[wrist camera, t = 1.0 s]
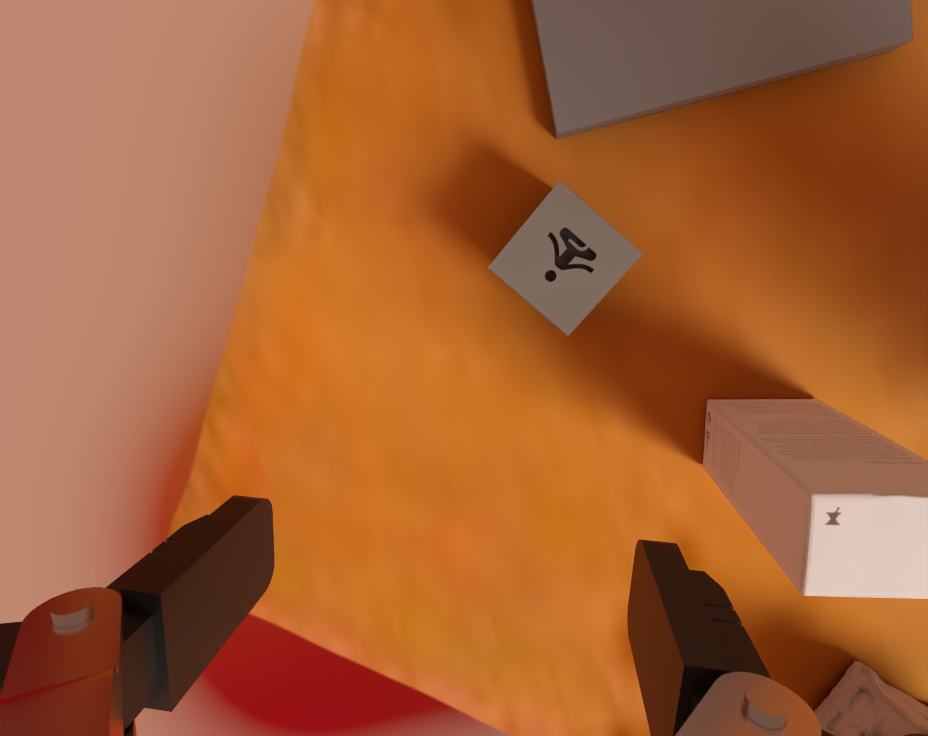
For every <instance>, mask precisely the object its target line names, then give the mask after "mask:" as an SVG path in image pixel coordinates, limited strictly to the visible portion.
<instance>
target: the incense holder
mask: <svg viewBox="0 0 928 736" xmlns="http://www.w3.org/2000/svg"><path fill="white" fill-rule="evenodd" d="M814 713H815V715H816V716H817V718H818V720H819V723H820V726H821V729H822V730H824V731H826V732H828V733H830V734H832V735H835V736H903V735H907V734H918V733H919V734H927V735H928V707H927V706H925V705H923V704H922V703H920V702H919V701H917V700H915V699H914V698H912V697H911V696H910V695H907V694H906V693H904V692H902V691H901V690H899V689H897V688H894V687H892V686H890V685H887V684H885V683H884V682H883V681H882V680H881V679H880V677H879V676H878V674H877V673H876V672H875V671H874V670H872V669H871V668H870V667H869V666H867V665H865V664H863V663H861V662H858V661H854V662H853V664H852V665H851V666H850V667H849V668H848V669H847V670H846V673H845V675H844V676H843V677H842V679H841V680H840V681H839V682H838V684H837V685H836V686H835V687H834V688H833V689H832V691H831V692H830V694H829V696H827V697H826V698H825V700H824V701H823V702H822V703H821V705H820V706H819V707H818V708H817V709H816V710H815V712H814Z"/></svg>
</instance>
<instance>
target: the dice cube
mask: <svg viewBox="0 0 928 736" xmlns="http://www.w3.org/2000/svg"><path fill="white" fill-rule="evenodd" d="M642 255H643V253H642V252H641V251H640V250H639V249H638V248H636V247H635V246H634V245H633V244H632V243H631V242H630V241H628V240H627V239H626V238H625V237H624V236H623V235H622V234H620V233H619V232H618V231H617V230H616V229H615V228H614V227H612V226H611V225H610V224H609V223H608V222H607V221H606V220H604V219H603V218H602V217H601V216H600V215H599V214H598V213H596V212H595V211H594V210H593V209H592V208H591V207H590V206H588V205H587V204H586V203H585V202H584V201H583V200H582V199H580V198H579V197H578V196H577V195H576V194H575V193H574V192H572V191H571V190H570V189H569V188H568V187H567V186H566V185H564V184H563V183H562V182H561V181H559V182H558V183H557V184H556V186H555V187H554V188H553V189H552V190H551V192H550V193H549V194H548V195H547V196H546V198H545V199H544V200H543V201H542V202H541V204H540V205H539V206H538V207H537V208H536V210H535V211H534V212H533V213H532V215H531V216H530V217H529V218H528V219H527V221H526V222H525V223H524V224H523V225H522V227H521V228H520V229H519V230H518V231H517V233H516V234H515V235H514V236H513V237H512V239H511V240H510V241H509V242H508V243H507V245H506V246H505V247H504V248H503V250H502V251H501V252H500V253H499V254H498V256H497V257H496V258H495V259H494V260H493V262H492V263H491V264H490V265H489V266H488V268H489V269H490V270H491V271H492V272H493V273H495V274H496V275H497V276H498V277H499V278H500V279H502V280H503V281H504V282H505V283H506V284H507V285H509V286H510V287H511V288H512V289H513V290H514V291H516V292H517V293H518V294H519V295H520V296H521V297H523V298H524V299H525V300H526V301H527V302H528V303H530V304H531V305H532V306H533V307H534V308H535V309H537V310H538V311H539V312H540V313H541V314H542V315H544V316H545V317H546V318H547V319H548V320H549V321H551V322H552V323H553V324H554V325H555V326H556V327H558V328H559V329H560V330H561V331H562V332H563V333H565V334H566V335H567V336H569V335H570V334H571V333H572V332H573V330H574V329H575V328H576V327H577V326H578V325H579V324H580V323H581V322H582V321H583V319H584V318H585V317H586V316H587V315H588V314H589V313H590V312H591V311H592V310H593V308H594V307H595V306H596V305H597V304H598V303H599V302H600V301H601V300H602V299H603V297H604V296H605V295H606V294H607V293H608V292H609V291H610V290H611V289H612V288H613V286H614V285H615V284H616V283H617V282H618V281H619V280H620V279H621V278H622V277H623V275H624V274H625V273H626V272H627V271H628V270H629V269H630V268H631V267H632V266H633V265H634V263H635V262H636V261H637V260H638V259H639V258H640V257H641V256H642Z"/></svg>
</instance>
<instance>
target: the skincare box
mask: <svg viewBox="0 0 928 736" xmlns="http://www.w3.org/2000/svg"><path fill="white" fill-rule="evenodd" d="M703 468H704V469H705V471H706V472H707V473H708V474H709V475H710V477H711V478H712V479H713V481H714V482H715V483H716V485H717V486H718V487H719V489H720V490H721V491H722V492H723V494H724V495H725V496H726V497H727V499H728V500H729V501H730V503H731V504H732V505H733V507H734V508H735V509H736V510H737V512H738V513H739V514H740V516H741V517H742V518H743V519H744V521H745V522H746V523H747V525H748V526H749V527H750V528H751V530H752V531H753V532H754V534H755V535H756V536H757V537H758V539H759V540H760V541H761V543H762V544H763V545H764V546H765V548H766V549H767V550H768V552H769V553H770V554H771V555H772V557H773V558H774V559H775V561H776V562H777V563H778V564H779V566H780V567H781V568H782V569H783V571H784V572H785V573H786V575H787V576H788V577H789V579H790V580H791V581H792V582H793V584H794V585H795V586H796V588H797V589H798V590H799V591H800V592H801V593H802V594H803V595H805V596H836V597H872V598H916V599H928V461H927V460H925V459H923V458H921V457H920V456H918V455H916V454H914V453H912V452H911V451H909V450H907V449H905V448H904V447H902V446H900V445H898V444H897V443H895V442H893V441H891V440H890V439H888V438H886V437H884V436H882V435H880V434H879V433H877V432H875V431H873V430H872V429H870V428H868V427H866V426H864V425H863V424H861V423H859V422H857V421H855V420H854V419H852V418H850V417H848V416H847V415H845V414H843V413H841V412H839V411H838V410H836V409H834V408H832V407H831V406H829V405H827V404H825V403H823V402H822V401H820V400H818V399H709V400H707V409H706V425H705V441H704V455H703Z"/></svg>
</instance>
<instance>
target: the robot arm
mask: <svg viewBox="0 0 928 736" xmlns="http://www.w3.org/2000/svg"><path fill="white" fill-rule="evenodd" d="M273 570H274V538H273V512H272V505H271V502H270V501H269V500H268V499H264V498H255V497H246V496H232V497H231V498H230V499H229V500H227V501H226V502H225V503H224V504H222V505H221V506H220V507H219V508H218V509H216V510H215V511H214V512H213V513H212V514H210V515H205V516H203V517H201V518H199V519H197V520H194V521H192V522H190V523H188V524H186V525H184V526H182V527H181V528H180V529H179V530H177V531H176V532H175V533H174V534H172V535H171V536H170V537H169V538H167V541H166V542H162V543H161V544H160V545H159V546H157V547H156V548H155V549H154V550H153V552H152V553H149V554H147V555H146V556H145V557H144V558H142V559H141V560H140V561H139V562H137V563H136V564H135V565H134V566H132V567H131V568H130V569H129V570H127V571H126V572H125V573H124V574H122V575H121V576H120V577H118V578H117V579H116V580H115V581H113V582H112V583H111V584H110V585H108V586H107V587H106V588H101V587H92V588H83V589H78V590H74V591H70V592H67V593H64V594H61V595H58V596H56V597H54V598H51V599H50V600H48V601H46V602H44V603H42V604H41V605H39V606H38V607H36V608H35V609H34V610H32V611H31V612H30V613H29V614H28V615H27V616H26V617H25V618H24V620H23V621H22V622H14V623H3V624H0V736H136V724H135V718H136V717H137V716H138V714H139V713H140V712H141V711H142V709H144V708H151V709H157V710H164V711H170V712H172V710H173V709H174V708H175V706H176V705H177V704H178V702H179V701H180V700H181V699H182V698H183V696H184V695H185V693H186V692H187V691H188V689H190V687H191V686H192V685H193V683H194V682H195V681H196V679H197V678H198V677H199V676H200V675H201V673H202V672H203V671H204V669H205V668H206V667H207V666H208V664H209V663H210V662H211V660H212V659H213V658H214V657H215V655H216V654H217V653H218V651H219V650H220V649H221V648H222V646H223V645H224V644H225V642H226V641H227V640H228V639H229V637H230V636H231V635H232V634H233V632H234V631H235V630H236V628H237V627H238V626H239V625H240V623H241V622H242V621H243V619H244V618H245V617H246V615H247V614H248V613H249V612H250V611H251V609H252V608H253V607H254V605H255V604H256V603H257V602H258V600H259V599H260V598H261V596H262V595H263V594H264V593H265V591H266V590H267V588H268V586H269V584H270V581H271V578H272V575H273ZM628 635H629V640H630V645H631V649H632V654H633V658H634V663H635V667H636V671H637V676H638V680H639V685H640V689H641V693H642V698H643V702H644V707H645V711H646V715H647V720H648V724H649V729H650V733H651V736H835V735H832V734H830V733H828V732H826V731H824V730H822V729H821V726H820V723H819V720H818V718H817V716H816V715H815V713H814V712H813V710H812V709H811V708H810V706H809V705H808V704H807V703H806V702H805V701H804V700H803V699H802V698H800V697H799V696H798V695H797V694H796V693H794V692H793V691H792V690H790V689H789V688H787V687H785V686H784V685H782V684H780V683H778V682H776V681H774V680H772V679H771V677H770V675H769V673H768V672H767V670H766V668H765V666H764V664H763V662H762V660H761V658H760V656H759V655H758V653H757V651H756V649H755V647H754V645H753V643H752V641H751V640H750V638H749V636H748V634H747V632H746V630H745V628H744V627H742V623H741V621H740V619H739V617H738V615H737V613H736V611H733V606H732V604H731V602H730V600H729V598H728V596H727V594H726V592H725V591H724V589H723V588H722V587H721V586H720V585H719V584H718V583H717V582H715V581H714V580H713V579H712V578H711V577H710V576H709V575H708V574H706V573H705V572H704V571H695V570H689V569H688V567H687V564H686V562H685V560H684V558H683V556H682V553H681V551H680V549H679V547H678V545H677V544H676V543H668V542H658V541H649V540H638V542H637V545H636V549H635V556H634V564H633V572H632V580H631V587H630V595H629V603H628ZM903 736H928V735H927V734H919V733H918V734H907V735H903Z"/></svg>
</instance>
